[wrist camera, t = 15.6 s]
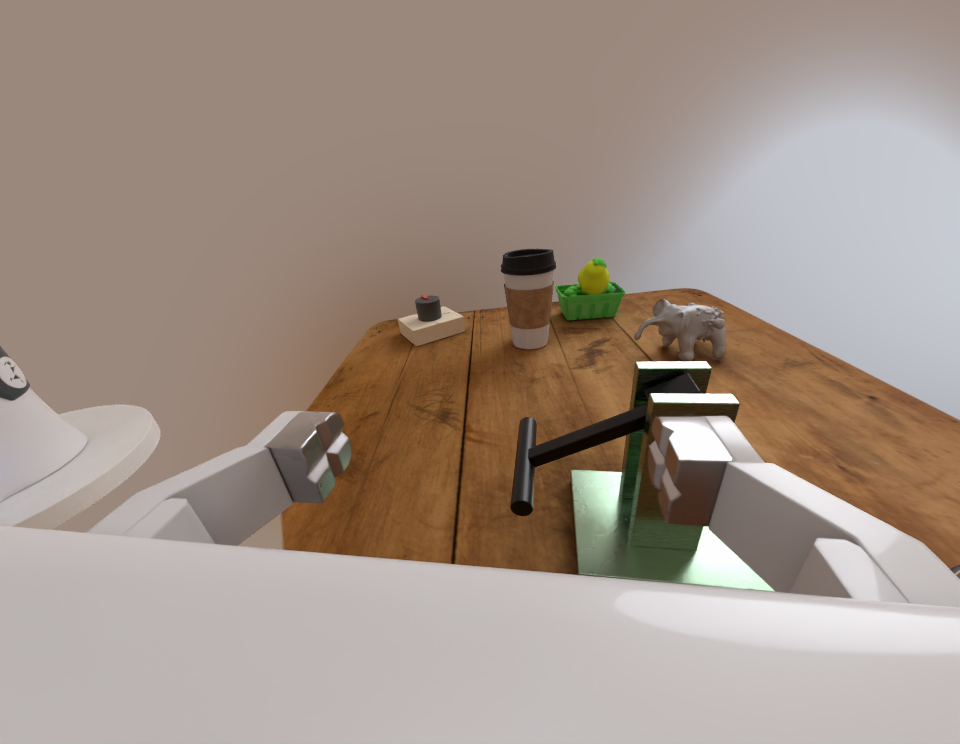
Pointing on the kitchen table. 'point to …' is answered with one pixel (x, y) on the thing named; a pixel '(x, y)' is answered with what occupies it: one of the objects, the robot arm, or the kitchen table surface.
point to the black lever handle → (577, 441)
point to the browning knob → (428, 308)
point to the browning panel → (431, 327)
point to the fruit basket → (590, 294)
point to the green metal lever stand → (652, 501)
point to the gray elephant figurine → (688, 327)
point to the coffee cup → (529, 295)
